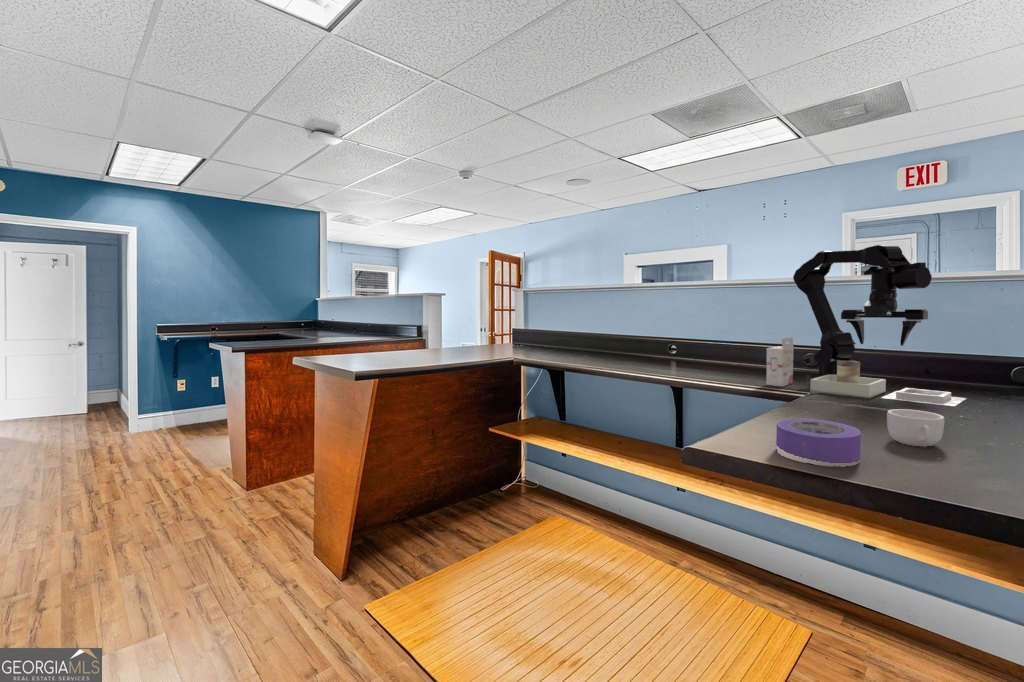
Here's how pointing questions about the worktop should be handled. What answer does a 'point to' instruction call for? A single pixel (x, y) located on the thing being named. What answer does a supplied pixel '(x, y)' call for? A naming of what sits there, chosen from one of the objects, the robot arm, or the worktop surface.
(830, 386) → the bin
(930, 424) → the teacup
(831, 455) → the tape roll
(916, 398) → the socket collar
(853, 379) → the strut
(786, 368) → the ink cartridge box
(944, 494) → the worktop surface
